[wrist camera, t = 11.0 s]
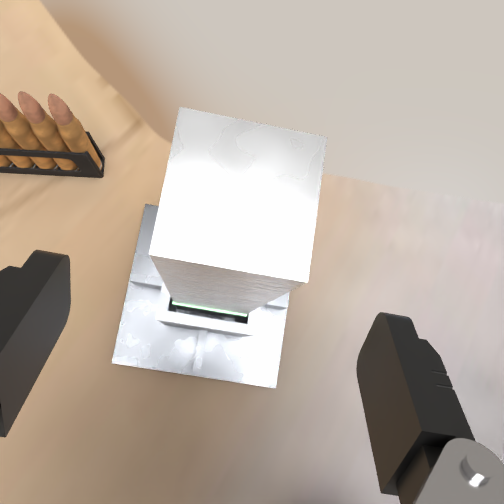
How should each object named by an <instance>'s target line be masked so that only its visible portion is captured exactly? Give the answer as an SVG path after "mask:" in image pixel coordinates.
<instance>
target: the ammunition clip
mask: <svg viewBox="0 0 504 504" xmlns="http://www.w3.org/2000/svg"><path fill="white" fill-rule="evenodd" d="M18 100H19V105H20V107H21V109H22V111H23V113H24V115H23V114H22V113H21V112H20V111H19V110H18V109H17V108H16V107H15V106H14V105H13V104H12V103H11V102H10V101H9V100H8V99H7V98H6V97H5V96H4V95H2V94H1V93H0V173H17V174H36V175H55V176H74V177H93V178H102V177H103V172H104V159H105V158H104V156H103V155H102V153H101V151H100V150H99V148H98V146H97V145H96V143H95V142H94V140H93V138H92V137H91V135H90V133H89V132H85V130H84V129H83V127H82V125H81V123H80V121H79V120H78V119H77V118H75V116H74V115H73V113H72V112H71V111H70V109H69V107H68V106H67V105H66V103H65V102H64V101H63V100H62V99H60V98H59V97H58V96H56V95H54V94H49V96H48V105H49V109H50V112H51V114H52V116H53V118H54V120H55V121H54V120H53V119H52V118H51V117H50V116H49V115H48V114H47V113H46V112H45V110H44V109H43V108H42V107H41V105H40V104H39V103H38V102H37V101H36V100H35V99H34V98H33V97H31V96H30V95H29V94H27V93H25V92H19V94H18Z"/></svg>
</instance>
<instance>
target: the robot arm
mask: <svg viewBox="0 0 504 504" xmlns="http://www.w3.org/2000/svg"><path fill="white" fill-rule="evenodd" d="M70 304H71V293H70V259H69V256H68V255H64V254H58V253H52V252H47V251H41V250H35V251H34V252H33V253H32V254H31V256H30V257H29V258H28V260H27V261H26V262H25V263H24V265H23V266H22V267H21V268H18V267H13V266H8V267H7V268H5V269H3V270H1V271H0V437H6V436H7V434H8V432H9V430H10V428H11V427H12V425H13V423H14V421H15V419H16V417H17V415H18V413H19V412H20V410H21V408H22V406H23V404H24V402H25V400H26V398H27V396H28V395H29V393H30V391H31V389H32V387H33V385H34V383H35V381H36V380H37V378H38V376H39V374H40V372H41V370H42V368H43V366H44V364H45V363H46V361H47V359H48V357H49V355H50V353H51V351H52V349H53V348H54V346H55V344H56V342H57V340H58V338H59V336H60V334H61V332H62V331H63V329H64V327H65V325H66V322H67V319H68V316H69V311H70ZM357 378H358V383H359V388H360V393H361V398H362V403H363V408H364V413H365V417H366V422H367V427H368V432H369V437H370V442H371V447H372V452H373V456H374V461H375V466H376V471H377V476H378V481H379V486H380V491H381V493H383V494H390V495H397V496H399V499H400V504H504V464H503V463H502V462H501V460H500V459H499V458H498V457H497V456H496V455H495V454H494V453H493V452H492V451H490V450H489V449H488V448H486V447H485V446H483V445H481V444H480V443H477V442H476V441H475V439H474V436H473V434H472V432H471V429H470V427H469V424H468V422H467V420H466V417H465V415H464V412H463V410H462V408H461V405H460V403H459V400H458V398H457V396H456V393H455V391H454V390H452V387H453V386H452V384H451V381H450V379H449V376H447V372H446V369H445V367H444V364H443V362H442V360H441V357H440V355H439V354H438V353H437V352H436V351H435V349H434V348H433V347H432V346H431V345H430V344H429V342H428V341H427V340H424V339H419V338H418V335H417V333H416V330H415V327H414V325H413V322H412V320H411V319H410V318H409V317H405V316H400V315H394V314H389V313H383V312H380V313H379V314H378V315H377V316H376V318H375V320H374V322H373V325H372V327H371V329H370V331H369V333H368V335H367V338H366V340H365V342H364V344H363V346H362V348H361V350H360V353H359V356H358V360H357Z"/></svg>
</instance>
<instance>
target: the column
mask: <svg viewBox="0 0 504 504" xmlns="http://www.w3.org/2000/svg"><path fill="white" fill-rule="evenodd" d="M326 142H327V137H325V136H320V135H316V134H311V133H306V132H301V131H296V130H291V129H286V128H281V127H276V126H271V125H266V124H262V123H257V122H252V121H247V120H242V119H237V118H233V117H228V116H223V115H218V114H213V113H208V112H203V111H198V110H194V109H189V108H184V107H180V108H179V112H178V117H177V122H176V127H175V132H174V137H173V141H172V146H171V151H170V156H169V161H168V165H167V170H166V175H165V180H164V185H163V190H162V194H161V199H160V204H159V209H158V214H157V219H156V223H155V228H154V233H153V238H152V243H151V247H150V252H149V255H150V257H151V259H152V261H153V263H154V265H155V267H156V269H157V271H158V273H159V275H160V276H161V278H162V280H163V282H164V284H165V286H166V288H167V290H168V292H169V294H170V296H171V298H172V300H173V303H172V304H173V305H174V306H176V307H177V309H179V310H185V311H191V312H197V313H203V314H209V315H215V316H221V317H227V318H233V319H238V318H240V317H246V316H247V314H248V313H250V312H252V311H253V310H255V309H257V308H259V307H261V306H263V305H265V304H267V303H269V302H271V301H273V300H275V299H277V298H278V297H280V296H282V295H284V294H286V293H288V292H290V291H292V290H294V289H296V288H298V287H300V286H302V285H304V284H305V283H307V282H308V277H309V269H310V262H311V254H312V247H313V239H314V232H315V224H316V217H317V209H318V202H319V194H320V187H321V180H322V172H323V165H324V157H325V149H326Z"/></svg>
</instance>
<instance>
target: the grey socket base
mask: <svg viewBox="0 0 504 504" xmlns="http://www.w3.org/2000/svg"><path fill="white" fill-rule="evenodd" d="M158 209H159V206H154V205H149V204H145V209H144V214H143V218H142V223H141V228H140V232H139V237H138V242H137V246H136V251H135V256H134V260H133V265H132V270H131V274H130V279H129V284H128V288H127V293H126V298H125V303H124V307H123V312H122V317H121V321H120V326H119V331H118V335H117V340H116V345H115V349H114V354H113V359H112V363H114V364H121V365H127V366H134V367H140V368H147V369H153V370H160V371H166V372H172V373H179V374H185V375H192V376H198V377H205V378H211V379H218V380H224V381H231V382H237V383H244V384H250V385H257V386H263V387H269V388H276V384H277V377H278V370H279V363H280V355H281V348H282V341H283V334H284V327H285V320H286V313H287V308H288V304H289V300H288V299H289V292H288V293H286V294H284V295H282V296H280V297H278V298H277V299H275V300H273V301H271V302H269V303H267V304H265V305H263V306H261V307H259V308H257V309H255V310H253V311H252V312H250V313H248V314H247V316H246V317H240V318H238V319H233V318H227V317H221V316H215V315H209V314H203V313H197V312H191V311H185V310H179V309H177V307H176V306H174V305H173V304H172V303H173V300H172V298H171V296H170V294H169V292H168V290H167V288H166V286H165V284H164V282H163V280H162V278H161V276H160V275H159V273H158V271H157V269H156V267H155V265H154V263H153V261H152V259H151V257H150V255H149V252H150V247H151V243H152V238H153V233H154V228H155V223H156V219H157V214H158Z"/></svg>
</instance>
